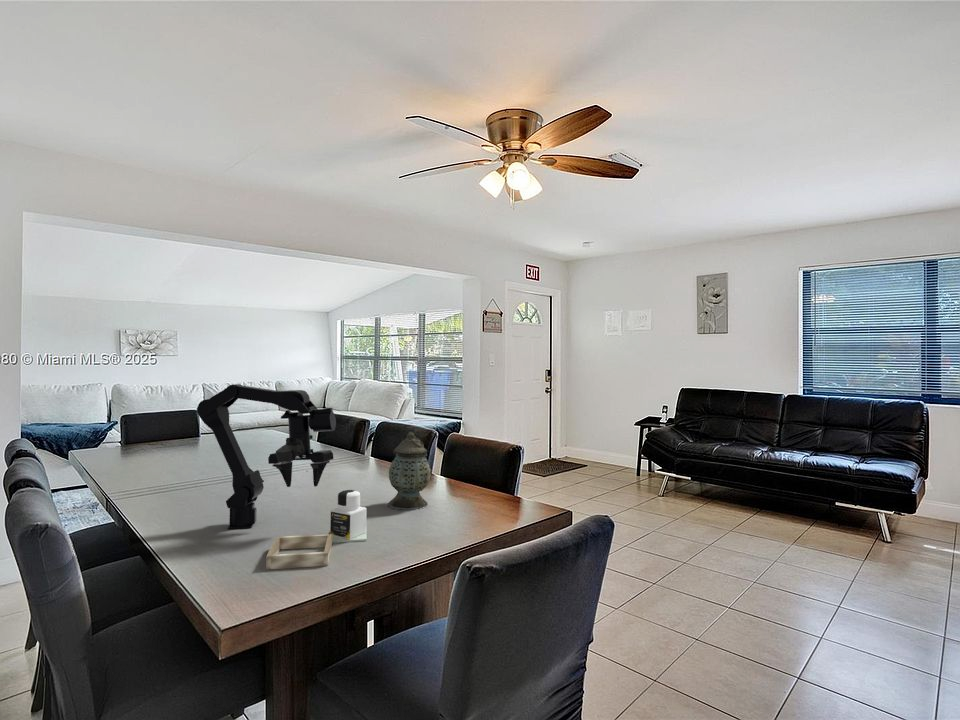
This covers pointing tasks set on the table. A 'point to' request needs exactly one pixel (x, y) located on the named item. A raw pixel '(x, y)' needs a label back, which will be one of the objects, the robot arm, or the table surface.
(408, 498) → the lantern
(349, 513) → the medicine bottle
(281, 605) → the table surface
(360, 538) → the sage mat
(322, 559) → the birch box
